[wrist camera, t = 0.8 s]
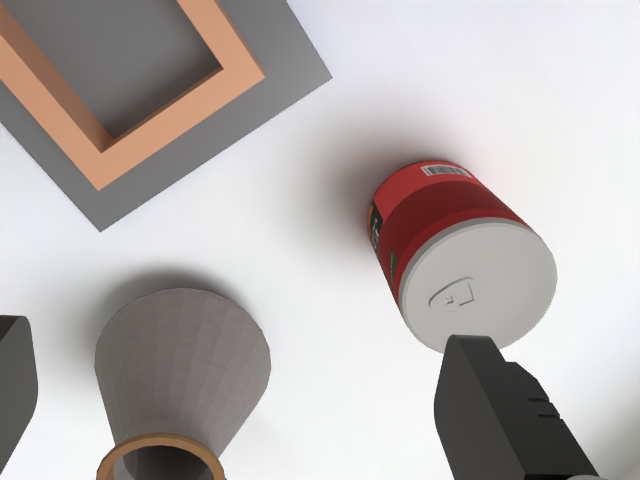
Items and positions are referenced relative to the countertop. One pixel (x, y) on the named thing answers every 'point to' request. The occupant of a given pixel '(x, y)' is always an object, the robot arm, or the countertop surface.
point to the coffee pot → (178, 383)
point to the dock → (144, 88)
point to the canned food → (458, 257)
